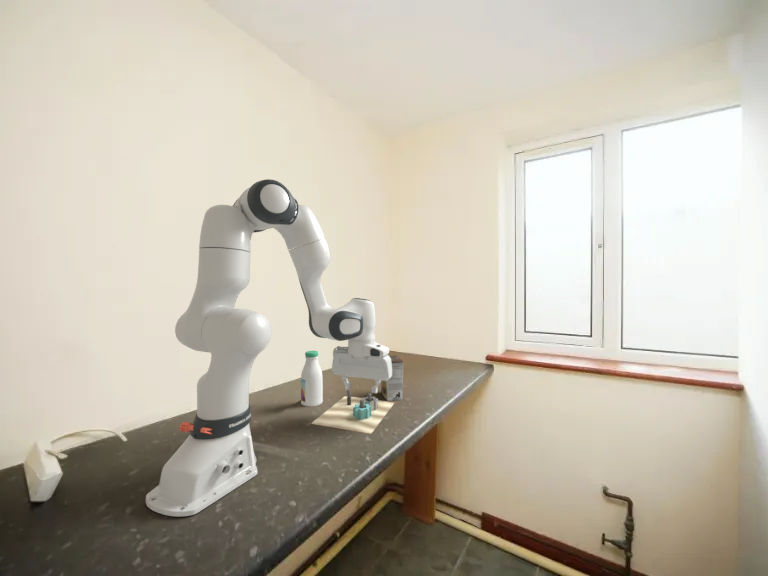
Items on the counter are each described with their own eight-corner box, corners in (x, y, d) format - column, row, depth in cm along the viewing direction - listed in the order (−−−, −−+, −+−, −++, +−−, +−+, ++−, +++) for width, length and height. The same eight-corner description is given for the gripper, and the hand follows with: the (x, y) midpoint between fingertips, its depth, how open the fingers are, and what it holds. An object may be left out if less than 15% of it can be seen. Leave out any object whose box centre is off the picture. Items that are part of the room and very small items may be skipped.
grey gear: (376, 412, 101) (376, 403, 101) (359, 410, 102) (359, 402, 102) (379, 405, 107) (379, 396, 107) (363, 404, 108) (363, 395, 108)
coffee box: (380, 396, 119) (380, 355, 119) (395, 394, 121) (395, 354, 121) (387, 405, 111) (387, 361, 110) (403, 403, 112) (403, 360, 112)
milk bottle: (325, 402, 113) (325, 349, 113) (318, 410, 106) (318, 354, 105) (305, 401, 114) (305, 349, 114) (297, 409, 106) (297, 353, 106)
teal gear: (367, 420, 95) (367, 411, 95) (350, 418, 97) (350, 408, 96) (373, 413, 100) (373, 404, 100) (357, 410, 102) (357, 402, 102)
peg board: (371, 438, 86) (371, 416, 86) (310, 428, 93) (310, 407, 93) (394, 406, 109) (394, 388, 109) (345, 399, 116) (345, 383, 116)
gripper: (328, 347, 98) (327, 389, 98) (387, 352, 91) (387, 398, 91) (337, 344, 104) (337, 384, 104) (394, 348, 97) (393, 391, 97)
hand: (361, 390), depth 97 cm, fingers open, 8 cm apart
